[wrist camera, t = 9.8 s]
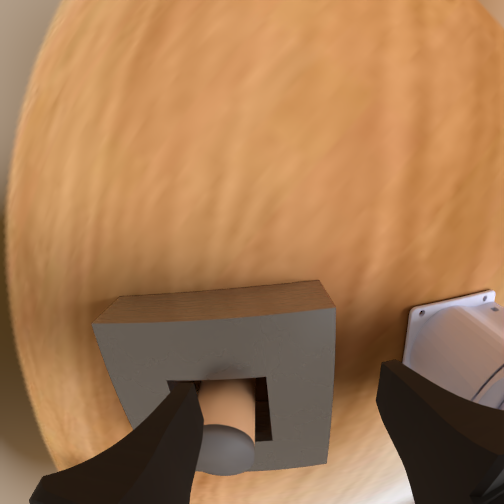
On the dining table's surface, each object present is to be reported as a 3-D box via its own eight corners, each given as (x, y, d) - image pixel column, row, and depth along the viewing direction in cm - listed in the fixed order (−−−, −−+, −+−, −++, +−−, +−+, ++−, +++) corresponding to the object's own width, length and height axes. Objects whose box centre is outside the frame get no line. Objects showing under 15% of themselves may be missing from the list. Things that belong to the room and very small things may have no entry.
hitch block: (319, 279, 20) (335, 307, 15) (318, 426, 23) (326, 463, 18) (119, 296, 20) (91, 323, 16) (164, 432, 23) (153, 467, 19)
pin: (259, 361, 21) (259, 441, 13) (251, 400, 22) (249, 478, 14) (205, 353, 21) (183, 431, 13) (201, 393, 22) (183, 469, 14)
